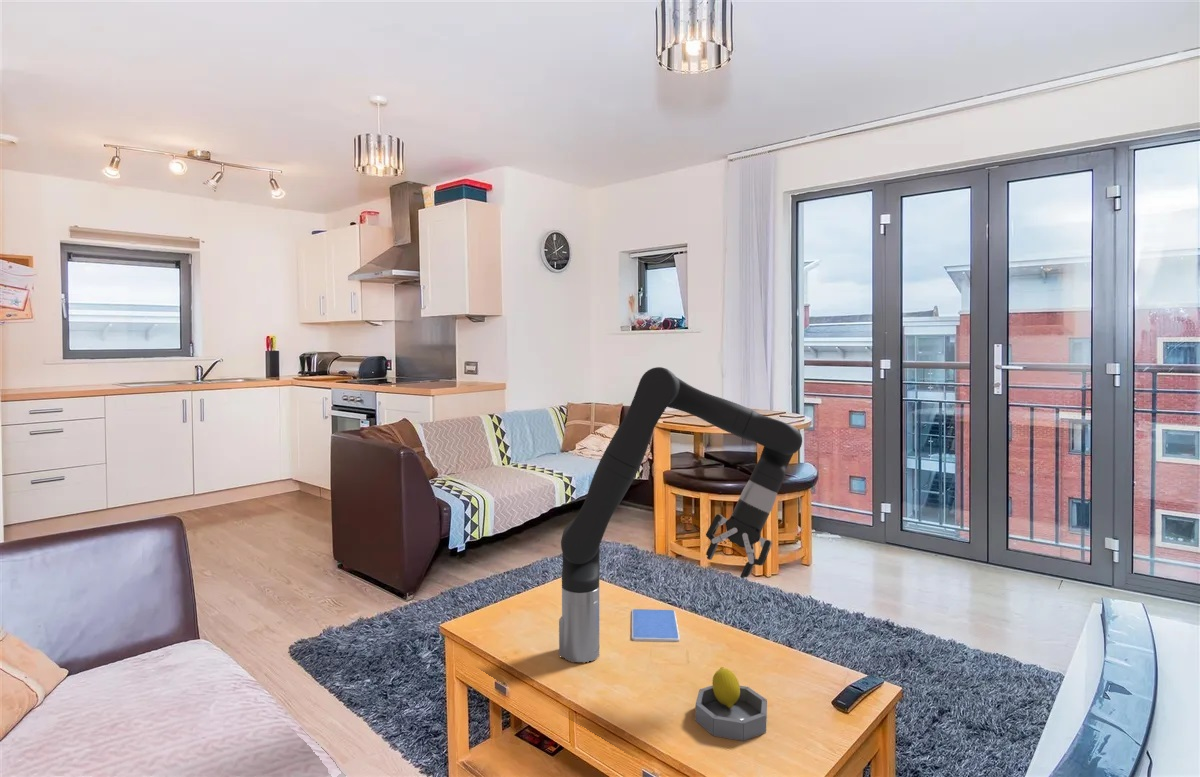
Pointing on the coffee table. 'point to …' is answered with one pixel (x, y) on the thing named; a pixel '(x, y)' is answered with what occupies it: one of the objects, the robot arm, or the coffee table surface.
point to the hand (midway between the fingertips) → (725, 568)
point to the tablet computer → (654, 625)
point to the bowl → (732, 714)
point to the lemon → (726, 687)
